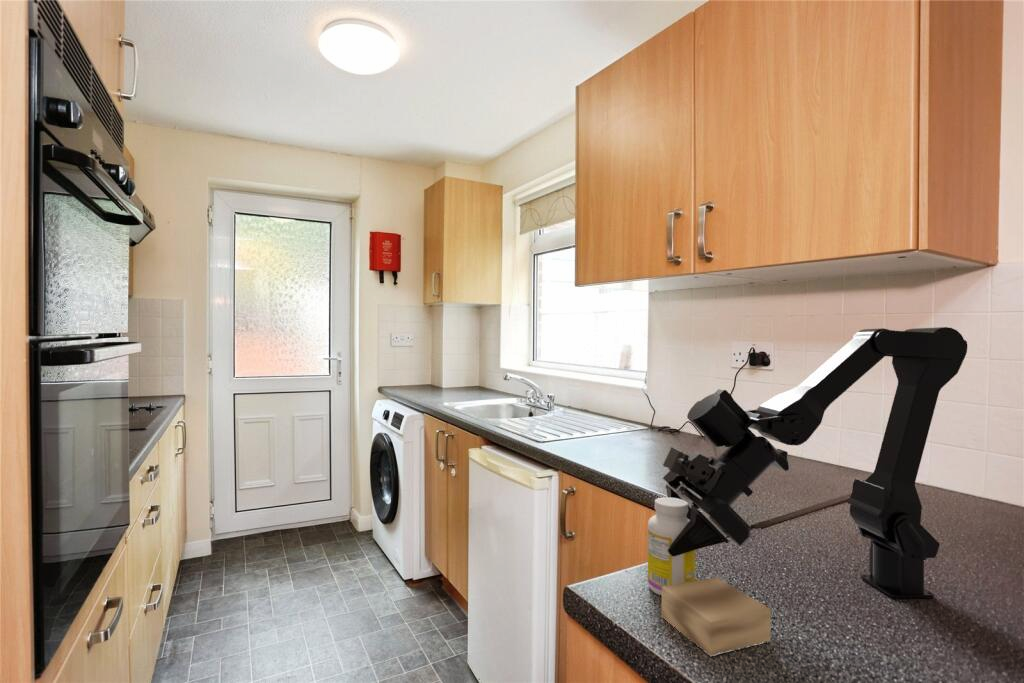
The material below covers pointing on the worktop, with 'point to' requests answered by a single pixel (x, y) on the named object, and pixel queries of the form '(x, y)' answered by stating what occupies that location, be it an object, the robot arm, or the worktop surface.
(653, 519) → the supplement bottle
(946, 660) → the worktop surface
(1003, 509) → the worktop surface
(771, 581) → the worktop surface
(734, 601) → the oak block
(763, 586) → the worktop surface
